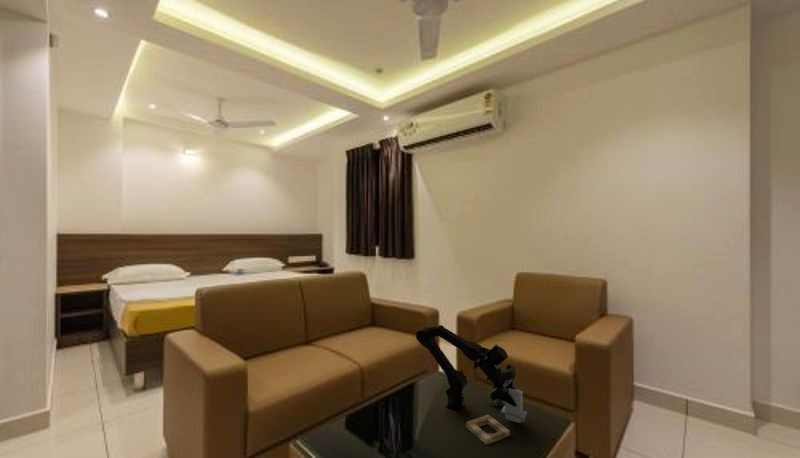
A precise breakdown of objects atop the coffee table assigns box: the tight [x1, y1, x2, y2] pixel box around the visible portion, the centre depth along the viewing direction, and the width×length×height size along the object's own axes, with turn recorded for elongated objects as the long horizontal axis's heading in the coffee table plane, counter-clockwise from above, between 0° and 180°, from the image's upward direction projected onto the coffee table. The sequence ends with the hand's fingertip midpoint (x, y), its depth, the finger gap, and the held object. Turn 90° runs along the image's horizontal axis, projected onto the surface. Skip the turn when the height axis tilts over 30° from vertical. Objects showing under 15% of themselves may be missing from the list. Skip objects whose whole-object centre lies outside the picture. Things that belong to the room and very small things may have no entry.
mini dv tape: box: [489, 391, 505, 407], centre depth 159 cm, size 8×2×6 cm, turn 84°
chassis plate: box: [465, 414, 511, 445], centre depth 140 cm, size 13×12×2 cm
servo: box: [500, 388, 528, 424], centre depth 145 cm, size 9×5×12 cm, turn 58°
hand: (517, 403), depth 144 cm, fingers closed on servo, 5 cm apart
